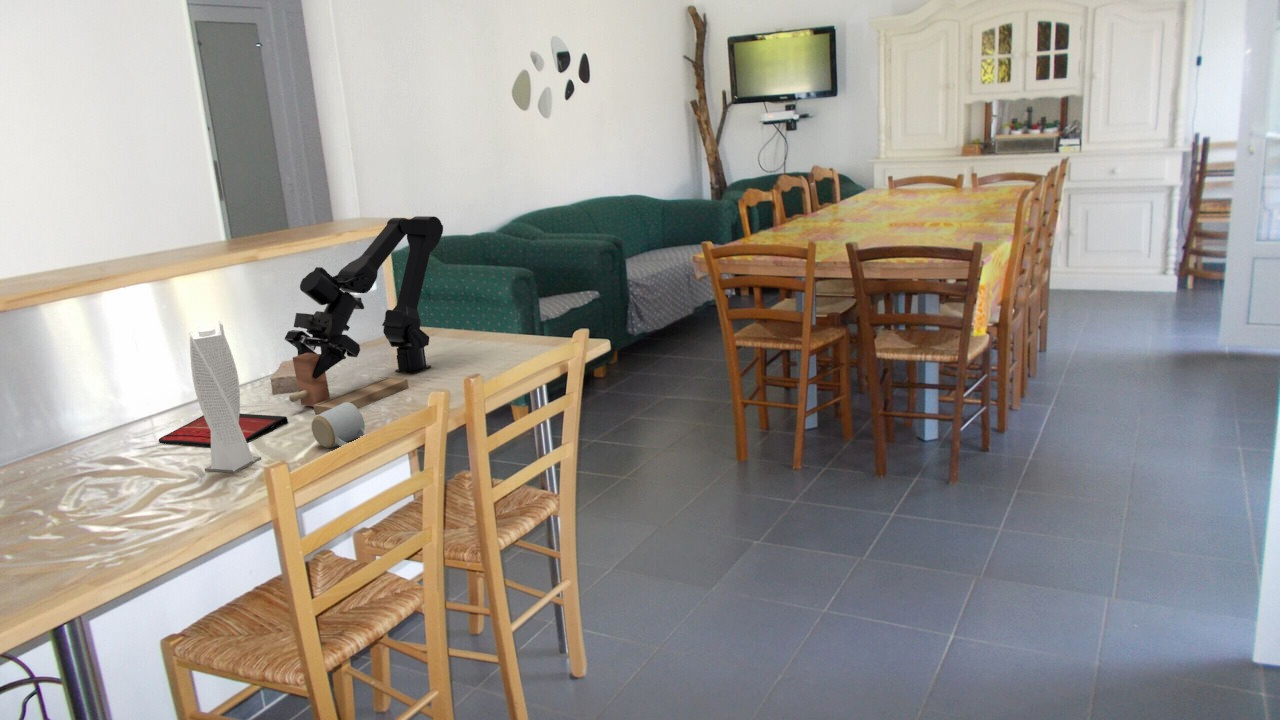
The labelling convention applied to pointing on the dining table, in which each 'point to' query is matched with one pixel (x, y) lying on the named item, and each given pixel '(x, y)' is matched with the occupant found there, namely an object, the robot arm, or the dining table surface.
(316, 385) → the wooden block with peg
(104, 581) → the dining table surface
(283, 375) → the brick
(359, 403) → the board
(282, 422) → the binder
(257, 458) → the skyscraper
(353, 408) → the ceramic mug
